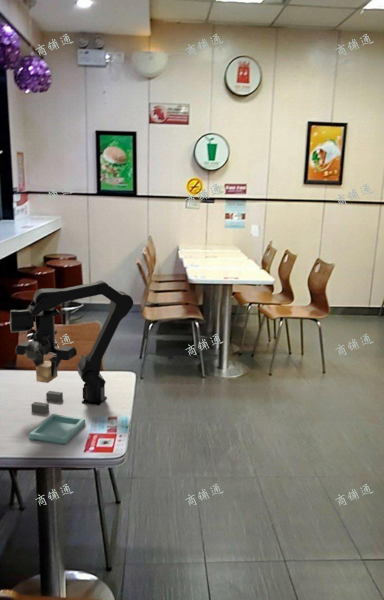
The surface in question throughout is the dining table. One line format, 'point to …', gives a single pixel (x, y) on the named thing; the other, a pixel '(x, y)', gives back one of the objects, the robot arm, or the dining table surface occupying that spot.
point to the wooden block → (44, 372)
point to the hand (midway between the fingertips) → (47, 375)
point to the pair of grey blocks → (44, 406)
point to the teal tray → (57, 429)
